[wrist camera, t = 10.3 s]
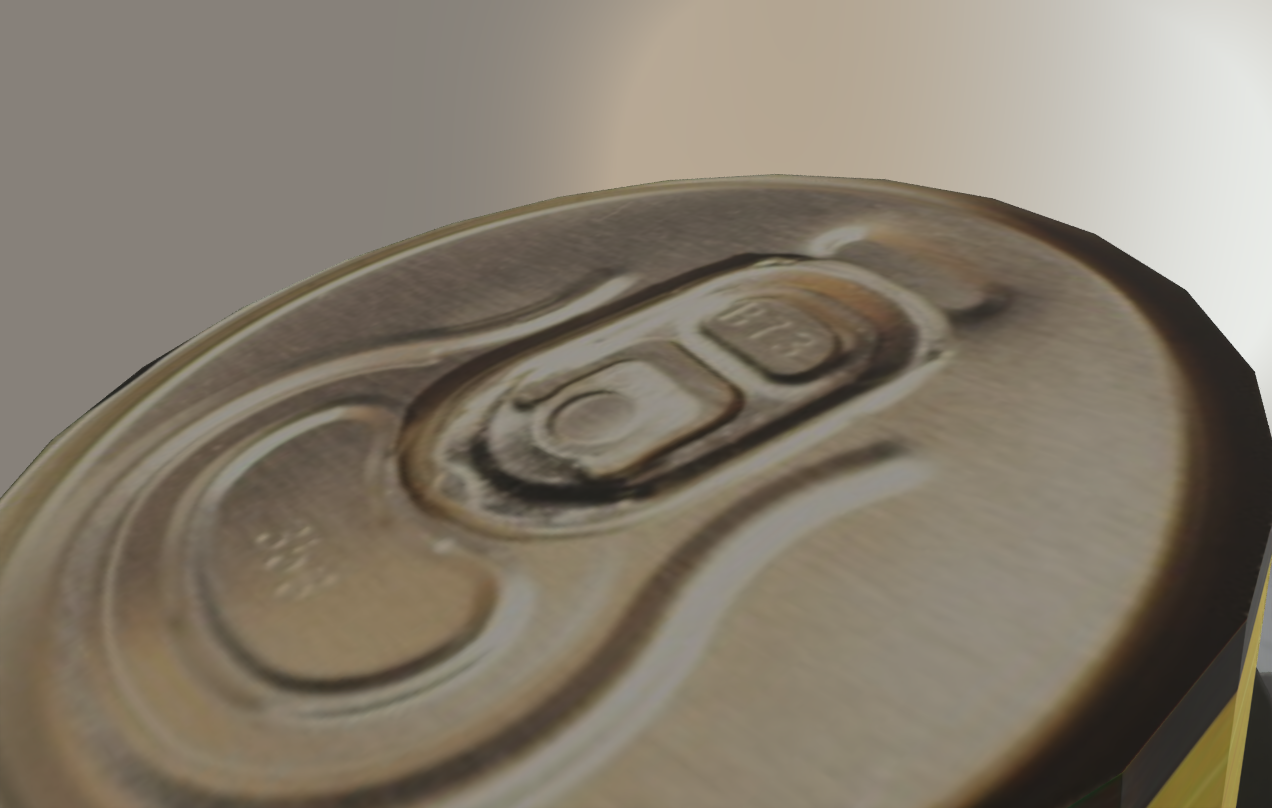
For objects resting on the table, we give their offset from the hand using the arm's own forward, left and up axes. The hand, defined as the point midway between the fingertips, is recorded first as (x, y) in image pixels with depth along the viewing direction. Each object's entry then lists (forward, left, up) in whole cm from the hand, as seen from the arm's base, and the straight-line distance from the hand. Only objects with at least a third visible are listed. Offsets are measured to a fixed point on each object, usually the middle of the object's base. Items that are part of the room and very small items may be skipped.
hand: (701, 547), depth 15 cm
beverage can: (+2, -4, -7) cm, 9 cm away
